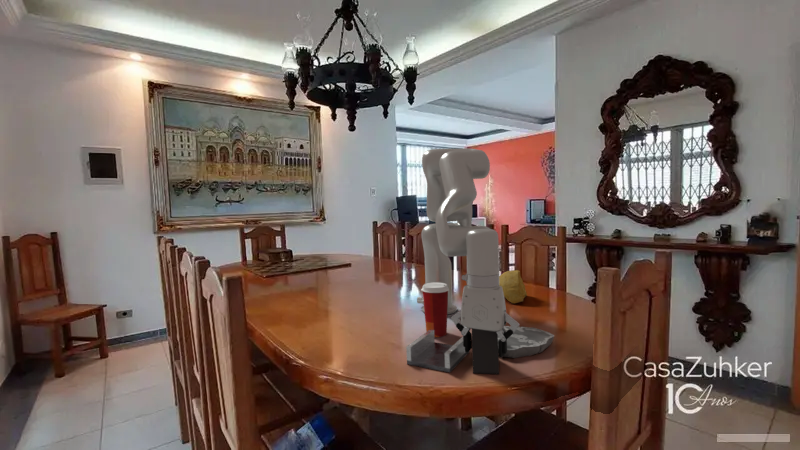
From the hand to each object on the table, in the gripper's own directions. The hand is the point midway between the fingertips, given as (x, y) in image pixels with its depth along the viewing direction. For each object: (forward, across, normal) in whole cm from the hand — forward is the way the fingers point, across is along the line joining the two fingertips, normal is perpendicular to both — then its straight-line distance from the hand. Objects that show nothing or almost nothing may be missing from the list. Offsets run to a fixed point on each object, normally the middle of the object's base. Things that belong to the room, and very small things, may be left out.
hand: (484, 352), depth 95 cm
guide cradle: (+3, -12, 0) cm, 12 cm away
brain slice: (+4, +3, +16) cm, 17 cm away
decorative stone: (+4, -9, +64) cm, 65 cm away
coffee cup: (+3, -20, +16) cm, 26 cm away
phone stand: (+4, 0, 0) cm, 4 cm away
